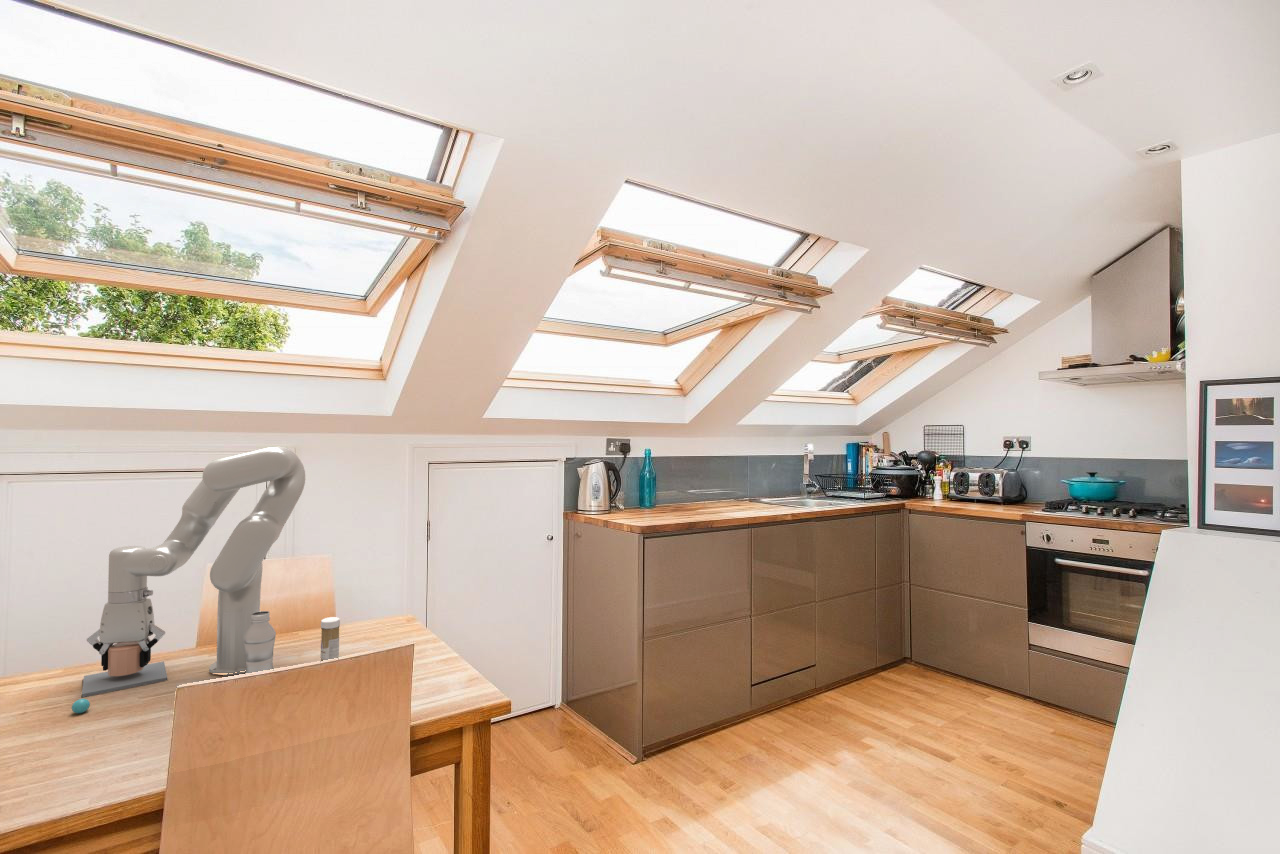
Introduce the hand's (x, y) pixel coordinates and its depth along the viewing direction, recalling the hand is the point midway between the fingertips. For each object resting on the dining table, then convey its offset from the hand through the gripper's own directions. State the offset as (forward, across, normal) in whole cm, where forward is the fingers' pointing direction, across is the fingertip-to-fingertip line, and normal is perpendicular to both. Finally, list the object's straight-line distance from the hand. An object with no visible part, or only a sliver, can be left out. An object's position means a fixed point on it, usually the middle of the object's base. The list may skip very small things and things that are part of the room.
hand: (126, 666), depth 155 cm
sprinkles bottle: (+4, -48, +7) cm, 48 cm away
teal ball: (+3, +1, +19) cm, 19 cm away
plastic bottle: (+4, -35, +21) cm, 41 cm away
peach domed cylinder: (+1, 0, 0) cm, 1 cm away
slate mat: (+3, 0, 0) cm, 3 cm away
